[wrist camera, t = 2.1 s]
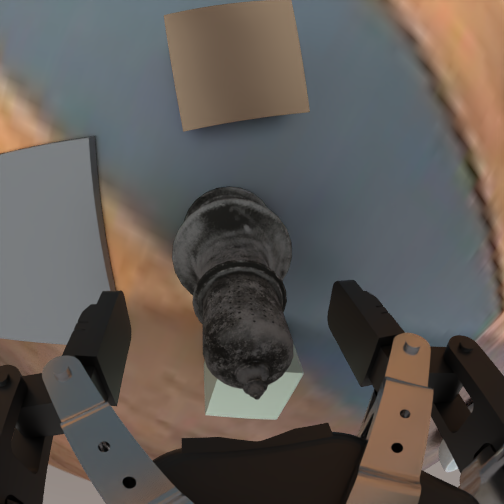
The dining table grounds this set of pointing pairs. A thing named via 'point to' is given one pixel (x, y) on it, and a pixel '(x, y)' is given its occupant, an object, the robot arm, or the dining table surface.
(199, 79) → the walnut block
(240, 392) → the sage block
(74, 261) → the serving board
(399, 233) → the dining table surface
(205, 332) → the salt shaker
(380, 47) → the dining table surface
